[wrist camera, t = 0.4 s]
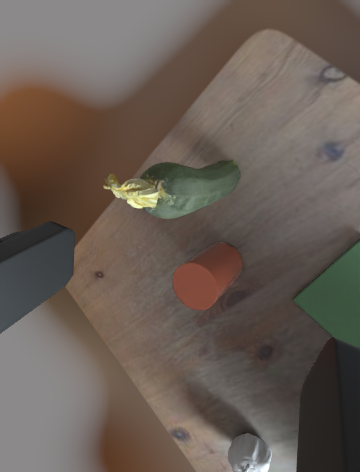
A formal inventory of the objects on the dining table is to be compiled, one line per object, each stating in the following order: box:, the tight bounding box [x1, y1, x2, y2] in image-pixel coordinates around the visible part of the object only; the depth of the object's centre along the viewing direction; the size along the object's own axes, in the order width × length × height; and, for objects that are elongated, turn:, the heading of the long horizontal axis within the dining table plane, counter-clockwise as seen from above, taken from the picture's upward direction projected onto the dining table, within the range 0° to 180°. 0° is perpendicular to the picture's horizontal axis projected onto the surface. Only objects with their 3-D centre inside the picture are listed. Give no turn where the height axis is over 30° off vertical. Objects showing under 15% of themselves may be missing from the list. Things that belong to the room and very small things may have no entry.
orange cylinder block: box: [172, 243, 243, 310], centre depth 35 cm, size 5×5×8 cm
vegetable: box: [103, 160, 240, 219], centre depth 27 cm, size 4×4×20 cm
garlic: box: [228, 433, 271, 472], centre depth 41 cm, size 6×5×5 cm
